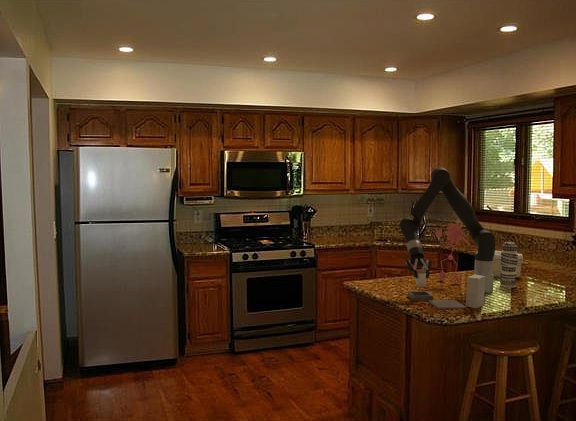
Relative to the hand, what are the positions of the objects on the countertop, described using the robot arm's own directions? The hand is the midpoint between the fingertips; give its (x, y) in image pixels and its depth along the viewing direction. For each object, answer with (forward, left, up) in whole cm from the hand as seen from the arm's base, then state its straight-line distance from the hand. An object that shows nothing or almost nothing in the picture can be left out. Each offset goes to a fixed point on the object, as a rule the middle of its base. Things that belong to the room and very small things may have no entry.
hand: (422, 277), depth 273 cm
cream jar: (0, -2, -5) cm, 5 cm away
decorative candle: (-61, -30, -12) cm, 69 cm away
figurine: (-33, -41, -12) cm, 53 cm away
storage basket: (-69, -59, -12) cm, 92 cm away
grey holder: (0, -2, -11) cm, 11 cm away
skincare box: (-22, +14, -12) cm, 29 cm away
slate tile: (-9, +11, -11) cm, 18 cm away
